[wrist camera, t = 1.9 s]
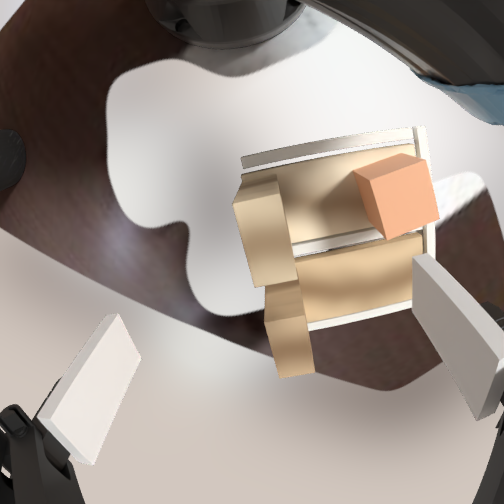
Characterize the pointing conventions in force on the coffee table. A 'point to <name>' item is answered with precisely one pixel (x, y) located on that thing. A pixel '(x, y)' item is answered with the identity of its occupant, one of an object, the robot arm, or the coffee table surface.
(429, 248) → the lane rails
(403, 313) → the coffee table surface
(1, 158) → the travel mug
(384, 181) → the cube
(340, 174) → the wooden slider
